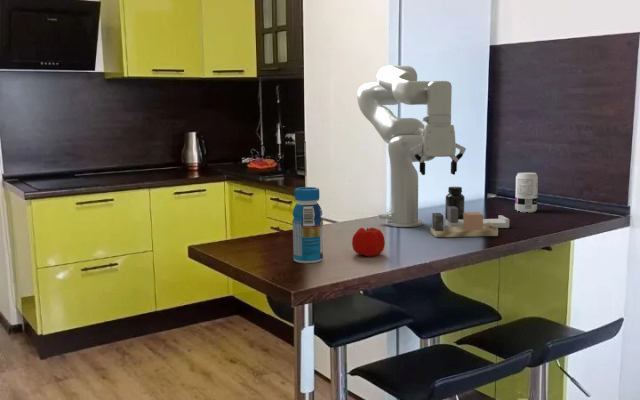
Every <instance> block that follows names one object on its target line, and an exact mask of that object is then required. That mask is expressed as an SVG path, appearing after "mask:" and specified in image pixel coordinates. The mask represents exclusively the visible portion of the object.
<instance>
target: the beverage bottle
mask: <svg viewBox="0 0 640 400" xmlns="http://www.w3.org/2000/svg"><path fill="white" fill-rule="evenodd" d="M294 200H295V202H296V203H295V206H294V207H293V209H292V216H293V219H292V222H291V223H292V224H291V226H292V240H293V241H292V244H293V245H292V246H293V250H292V251H293V254H292V255H293V261H294V262H296V263H300V264H315V263H316V264H317V263H320V262H322V261H323V259H324V254H323V252H324V251H323V250H324V249H323V247H324V246H323V238H324V237H323V226H324V220H323V219H322V218H323V217H322V215H323V210H322V208H321V206H320V204H319V201H320V188H318V187H314V186H312V187H311V186H303V187H297V188H296V187H295V188H294Z"/></svg>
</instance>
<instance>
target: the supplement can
mask: <svg viewBox="0 0 640 400" xmlns="http://www.w3.org/2000/svg"><path fill="white" fill-rule="evenodd" d="M538 176H539V175H537V173H536V172H517V174H516V175H515V191H514V192H515V193H514V194H515V198H514V210H517V211H516V212H518V211H520V212H519V213H526V212H528V213H536V211H537V210H538V192H539V191H538V189H539V188H538V187H539V186H538V185H539V177H538Z"/></svg>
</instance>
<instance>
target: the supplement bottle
mask: <svg viewBox="0 0 640 400" xmlns="http://www.w3.org/2000/svg"><path fill="white" fill-rule="evenodd" d="M447 189H448V192H447V193H448V194H446V195H445V211H444V213H445V215H444V218H445V221H446V220H447V206H455V207H456V208H458V220H463V213H464V212H465V201H466V200H465V195H464V194H462V193H463V188H462V187H461V186H448V188H447Z"/></svg>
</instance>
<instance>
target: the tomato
mask: <svg viewBox="0 0 640 400" xmlns="http://www.w3.org/2000/svg"><path fill="white" fill-rule="evenodd" d="M351 243H352V244H351V247H352V250H353V251H354V252H355V253H356V254H357V255H361V256H366V257H369V258H370V257H375V256H378V255H380V254H382V253H383V251H384V249H385V244H386V241H385V236H384V233H383V232H382V230H380V229H378V228H376V227H369V228H368V227H366V229H365V227H359V229H358V230H356V231H355V233H354V234H353V236H352V240H351Z"/></svg>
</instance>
